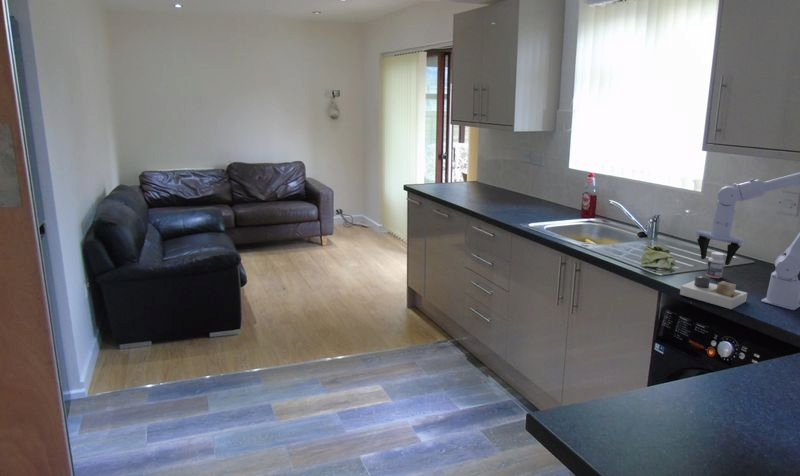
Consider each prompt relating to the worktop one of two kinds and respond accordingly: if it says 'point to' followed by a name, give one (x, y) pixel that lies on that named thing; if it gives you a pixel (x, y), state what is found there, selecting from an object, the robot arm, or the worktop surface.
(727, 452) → the worktop surface
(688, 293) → the white tray
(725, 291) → the plug block
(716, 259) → the pill bottle
